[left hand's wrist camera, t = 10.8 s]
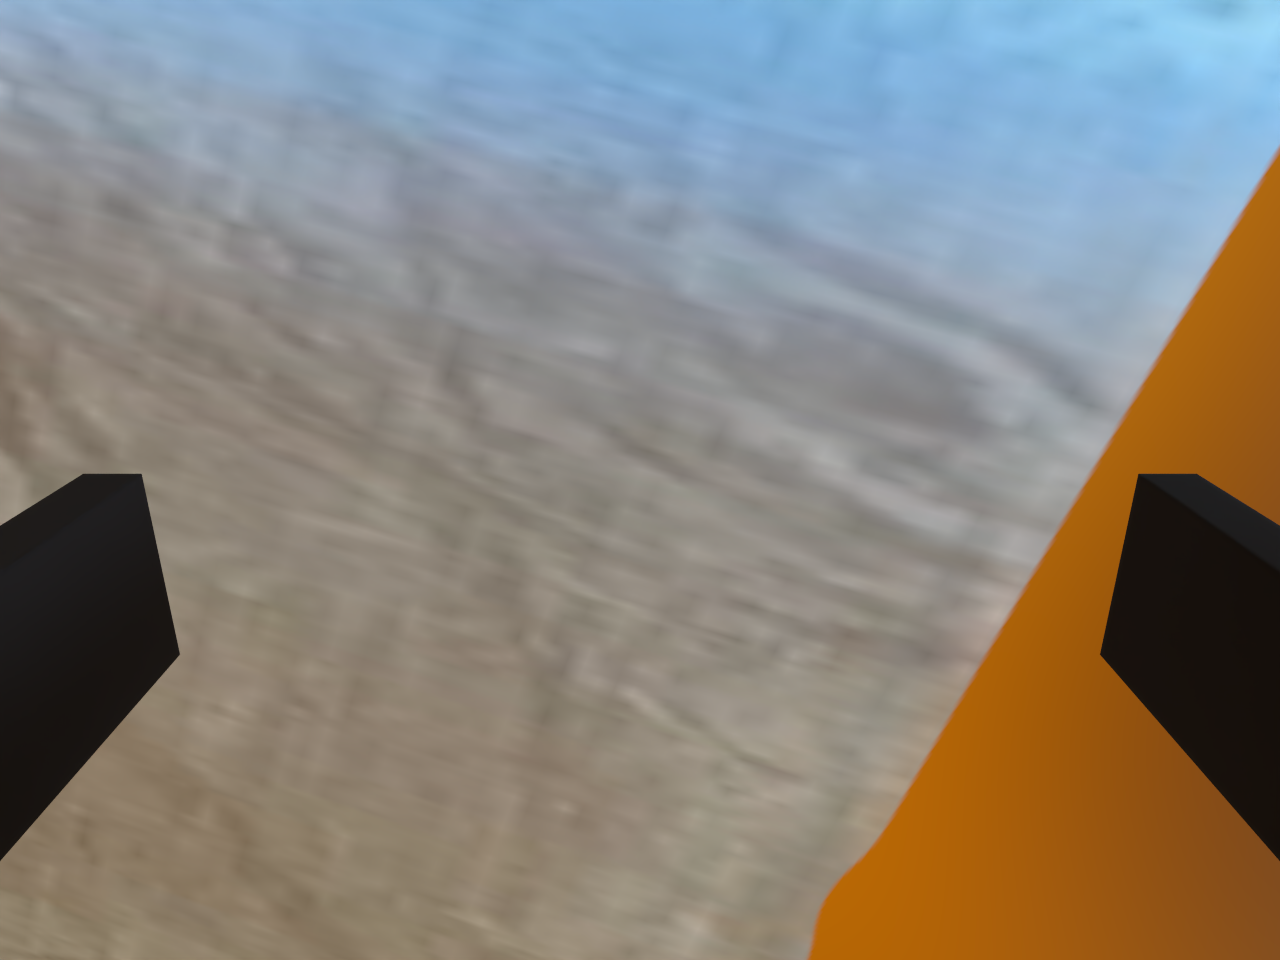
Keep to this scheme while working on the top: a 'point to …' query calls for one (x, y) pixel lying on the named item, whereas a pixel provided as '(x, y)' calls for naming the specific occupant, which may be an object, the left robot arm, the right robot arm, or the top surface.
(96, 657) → the left robot arm
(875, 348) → the top surface
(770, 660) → the top surface
